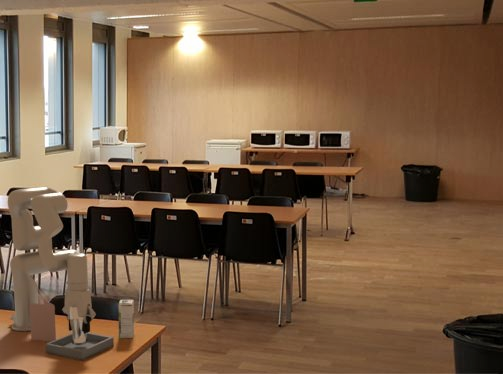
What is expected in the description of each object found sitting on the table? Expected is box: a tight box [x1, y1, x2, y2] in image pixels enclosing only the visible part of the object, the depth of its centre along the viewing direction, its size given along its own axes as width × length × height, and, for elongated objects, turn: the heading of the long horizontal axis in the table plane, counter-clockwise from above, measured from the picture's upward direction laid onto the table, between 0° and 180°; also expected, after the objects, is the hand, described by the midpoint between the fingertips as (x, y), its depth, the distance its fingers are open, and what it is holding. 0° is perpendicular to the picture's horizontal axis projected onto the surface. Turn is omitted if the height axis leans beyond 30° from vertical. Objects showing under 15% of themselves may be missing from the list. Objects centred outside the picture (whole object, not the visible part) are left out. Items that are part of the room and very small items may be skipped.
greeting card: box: [30, 299, 57, 342], centre depth 288 cm, size 11×7×15 cm, turn 37°
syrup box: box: [118, 299, 135, 339], centre depth 292 cm, size 6×6×14 cm
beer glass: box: [69, 306, 88, 345], centre depth 276 cm, size 7×7×15 cm
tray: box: [45, 332, 115, 361], centre depth 277 cm, size 18×18×4 cm
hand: (79, 330), depth 276 cm, fingers closed on beer glass, 6 cm apart
